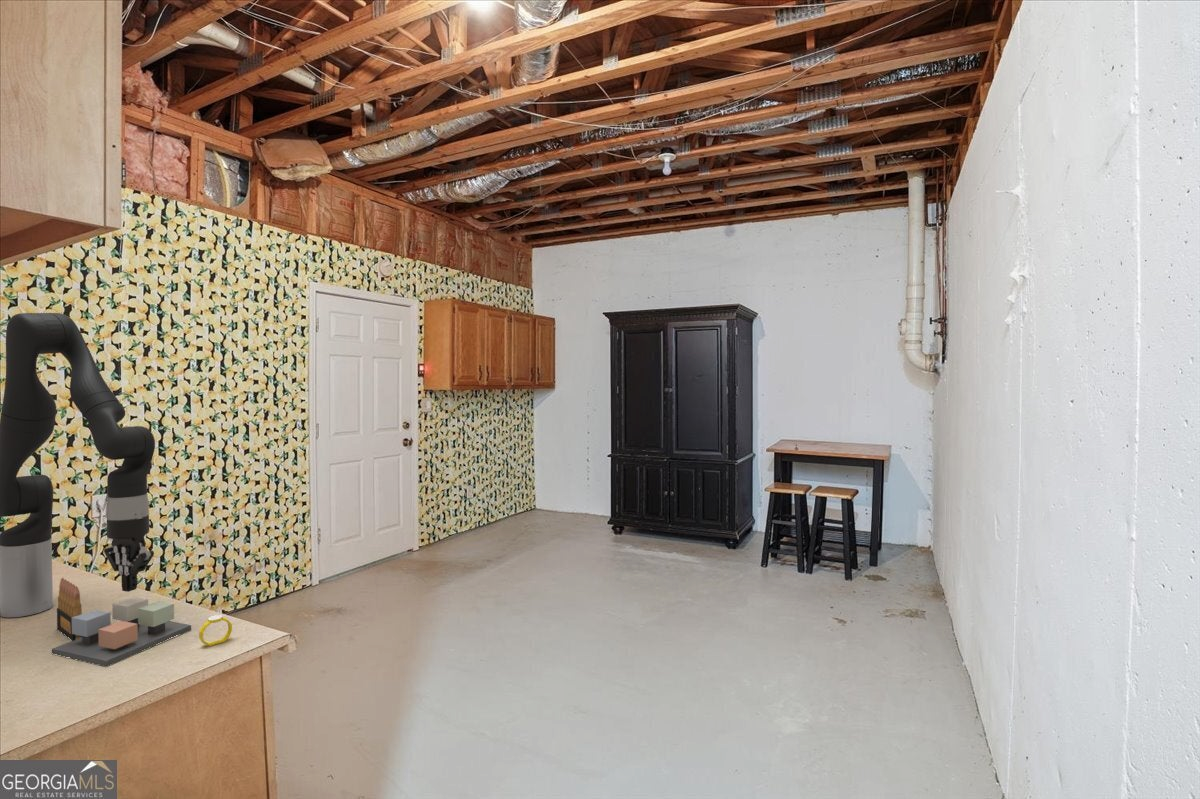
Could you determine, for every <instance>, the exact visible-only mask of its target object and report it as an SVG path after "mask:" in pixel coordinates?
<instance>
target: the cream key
mask: <svg viewBox="0 0 1200 799" xmlns="http://www.w3.org/2000/svg"><path fill="white" fill-rule="evenodd" d="M111 605H112V606H111V607H112V611H111V612H112V615H111V616H112V617H111V618H112V620H114V621H115V620H116V621H119V622H120V621H125V622H128V621H131V620H134V619H136V618H138V608H141V607H144V606H147V605H149V599H148V598H143V597H138V596H131V597H128V598H125V599H123V600H119V601H116V602H113V603H112V604H111Z"/></svg>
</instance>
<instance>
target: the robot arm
mask: <svg viewBox="0 0 1200 799" xmlns="http://www.w3.org/2000/svg"><path fill="white" fill-rule="evenodd" d="M45 354H47V355H48V354H49V355H50V354H61V355H62V356H63V357H64V359H66V361H67V362H68V363H69V365H70V369H71V370H70V372H71V374H70V383H69V394H70V397H71V399H72V402H73V404H74V405H75V406H76V408H77V409H78V411H79V412H80V414H81V415H82V417H83V418H84V419H85V420H86V421H87V423H88V427H89V431H90V433H91V437H92V440H93V443H94V446H95V449H96V450H97V452H98V453H99V454H100V455H102V456H103V457H105V458H107V459H108V460H112V461H113V460H114V461H117V460H123V461H122V464H121V465H120V466H119V467H118V468H117V469H114V470H112V471H109V473H108V475H107V480H106V481H107V500H106V501H107V503H106V511H105V512H106V537H107V539H110V540H112V541H111V546H109V547H107V548H103V552H104V555H105V556H106V558H107V560H108V562H109V564H110V566H111V568H112V570H113V571H114V572H118V573H119V575H120V576H121V591H123V592H127V593H129V592H133V591H135V590H136V589H137V588H138V573H140V572H144V571H145V570H146V568H147V567H148V565H149V564H150V562H151V560H152V558H153V557H154V556H155V552H154V550H148V549H147V548H146V545H147V544H146V543H147V542H146V540H145V536H146V535H147V534H148V533H150V510H149V509H150V503H149V502H150V501H149V497H148V477H147V476H148V474H149V470H150V468H151V464H152V460H153V456H154V453H155V450H156V449H155V448H156V440H155V436H154V434H153V432H152V431H151V429H149V428H147V427H145V426H140V425H136V426H135V425H133V426H125V427H124V426H123V427H120V426H119V424H118V423H119V422H121V421H122V420H123V419H124V418H125V416H126V409H125V408H124V406H123V405H122V403H121V401H120V400H119V399H118V397H117V396H116V395H115V394H114V392H113V391H112V389H111V388H110V387H109V386H108V384H107V382H106V381H105V380H104V378H103V376H102V374H101V373H100V370H99V368H98V366H97V363H96V361H95V359H94V358H93V355H92V353H91V351H90V349H89V346H88V345H87V343H86V341H85V338H84V337H83V335H82V333H81V330H80V329H79V327H78V326H77V324H76V323H75V321H74V320H73V319H72V318H71V317H70V316H68V315H67V314H64V313H58V312H24V313H23V312H21V313H17V314H14V315H12V316H11V317H10V318H9V319H8V322H7V324H6V331H5V379H4V380H5V381H4V382H5V383H4V390H3V391H4V393H3V399H2V405H1V412H0V518H5V517H13V516H20V515H27V514H29V516H28V517H26V519H24V520H23V521H22V522H20V523H19V524H15V525H14V526H11V527H9V528H7V529H5V530H3V531H1V533H0V616H1V617H3V618H20V617H22V618H23V617H25V616H31V615H36V614H38V613H41V612H45V611H47V610H49V609H51V608H52V607H53V606H54V596H53V594H54V590H53V589H54V588H53V586H54V585H53V549H52V548H53V546H52V532H53V531H52V530H53V506H54V488H53V487H54V486H53V483H52V480H51V478H50V477H49V476H48V475H46V474H32V475H25V476H24V475H23V476H22V475H21V476H18V474H19V471H20V469H21V468H22V466H23V465H24V463H25V462H26V461H27V460H28V459H29V458H30V457H31V456H32V455H33V454H34V453H36V452H37V451H38V449H39V448H41V447H42V446H43V445H44V444H45V442H47V440H49V439H50V437H51V435H52V434H53V433H54V429H55V423H56V416H57V409H58V408H57V402H56V401H55V399H54V398H53V396H52V395H51V393H50V392H49V391H48V389H47V388H46V387H45V385H43V382H41V380H40V378H39V376H38V371H37V370H38V369H37V362H38V357H39V355H45Z"/></svg>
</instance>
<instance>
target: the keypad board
mask: <svg viewBox="0 0 1200 799" xmlns="http://www.w3.org/2000/svg"><path fill="white" fill-rule="evenodd" d="M128 622H131V623H136V624H137V631H138V640H136V641H134V642H131V643H129V644H126V645H124V646H121V647H119V648H117V649H111V648H106V647H101V646H99V633H96V634H94V635H91V636H88V637H85V636H82V638H79V639H76V640H74V641H71V640H70V641H68V642H66V643H63V644H61V645H57V646H55V647H53V648H51V654H52V653H53V654H57V655H61V656H60V657H62V656H65V657H64V658H66V657H70V658H73V659H72V660H75V659H77V660H76V661H79V660H81V661H80V662H83V661H86V662H85V663H88V662H90V663H89V664H92V663H94V664H93V665H96V664H100V665H99V666H101V665H103V666H102V667H105V666H107V667H109V666H111V665H110V664H112V665H113V663H114V664H116V663H118V661H119V662H121V661H123V660H125V659H124V658H126V659H127V657H128V658H130V657H132V656H131V655H133V656H134V654H135V655H137V654H139V653H138V652H140V651H142V650H144V649H146V650H148V649H147V648H149V647H151V646H153V647H155V646H154V645H156V644H158V643H160V642H163V641H165V640H167V639H169V638H171V637H174V636H176V635H179V634H181V635H183V634H182V633H184V632H186V633H188V632H191V631H192V625H191V624H186V623H183V622H176V621H172V620H170V621H168V622H165V623H163V624H160V625H158V626H155V627H151V626H146V625H140V624H138V618H136V619H134V620H131V621H128ZM187 631H188V632H187ZM184 634H185V633H184ZM179 636H180V635H179ZM174 638H175V637H174ZM167 641H168V640H167ZM165 642H166V641H165ZM163 643H164V642H163ZM160 644H161V643H160ZM158 645H159V644H158ZM156 646H157V645H156ZM151 648H152V647H151ZM149 649H150V648H149ZM144 651H145V650H144ZM142 652H143V651H142ZM136 653H137V654H136ZM140 653H141V652H140ZM53 654H52V655H53ZM57 655H56V656H57ZM129 656H130V657H129ZM70 658H69V659H70ZM122 659H123V660H122ZM120 660H121V661H120ZM108 665H109V666H108Z"/></svg>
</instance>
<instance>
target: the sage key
mask: <svg viewBox="0 0 1200 799" xmlns="http://www.w3.org/2000/svg"><path fill="white" fill-rule="evenodd" d="M174 619H175V604H174V603H172V602H165V601H161V600H159V601H155V602H153V603H150V604H149V603H148V605H147V606H144V607H141V608H138V624H140V625H146V626H151V627H155V626H158V625H160V624H163V623H165V622H168V621H172V620H174Z"/></svg>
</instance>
